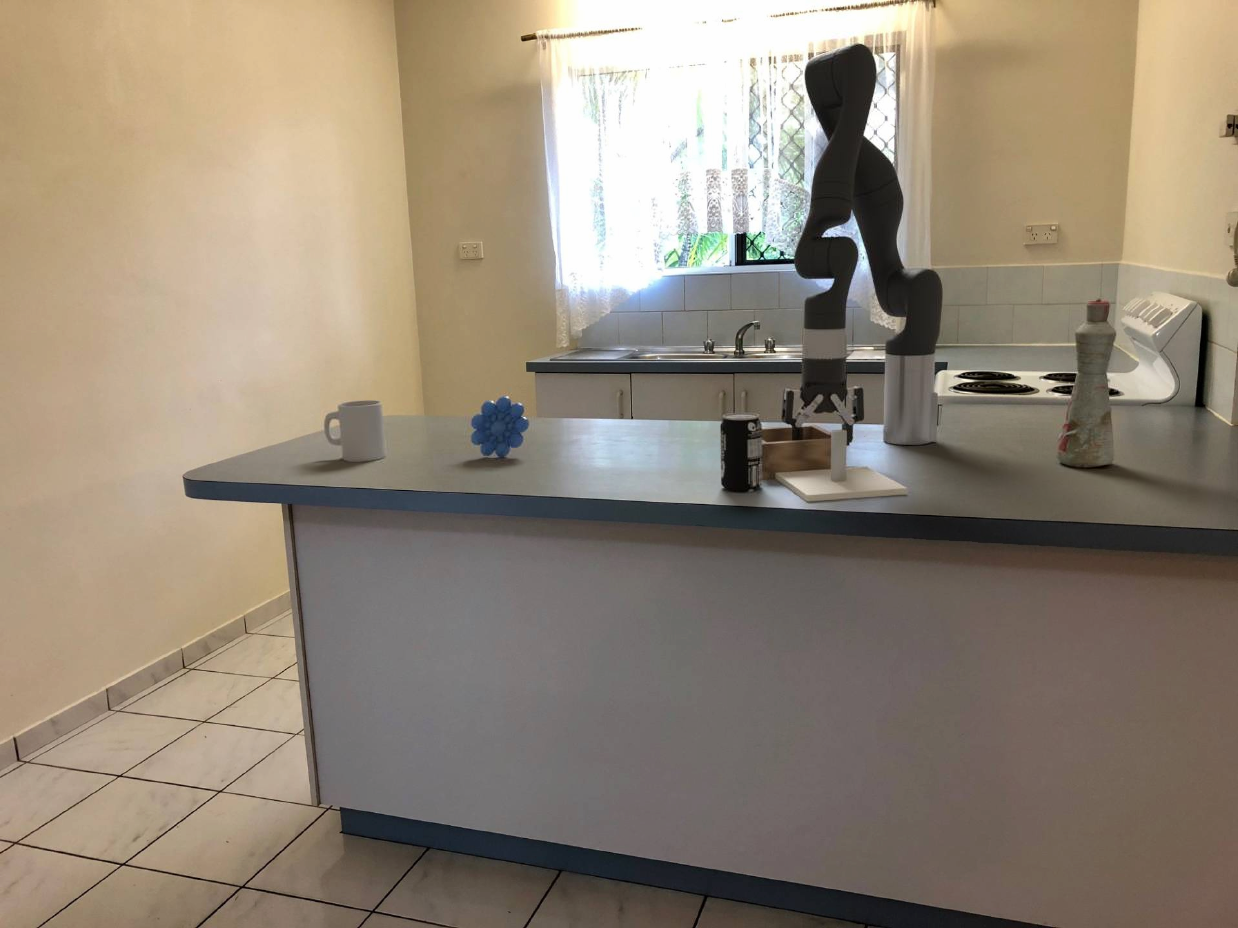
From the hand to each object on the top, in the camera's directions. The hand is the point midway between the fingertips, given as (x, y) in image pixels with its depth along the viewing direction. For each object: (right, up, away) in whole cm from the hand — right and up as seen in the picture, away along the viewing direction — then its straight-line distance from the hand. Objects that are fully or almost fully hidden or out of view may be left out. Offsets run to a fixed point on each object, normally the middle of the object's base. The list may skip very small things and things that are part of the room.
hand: (822, 446), depth 168 cm
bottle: (+44, -3, -6) cm, 44 cm away
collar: (-6, -4, 0) cm, 7 cm away
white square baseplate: (-1, -7, -15) cm, 16 cm away
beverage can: (-16, -7, -14) cm, 22 cm away
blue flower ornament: (-59, -2, +19) cm, 62 cm away
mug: (-89, -2, +23) cm, 92 cm away
